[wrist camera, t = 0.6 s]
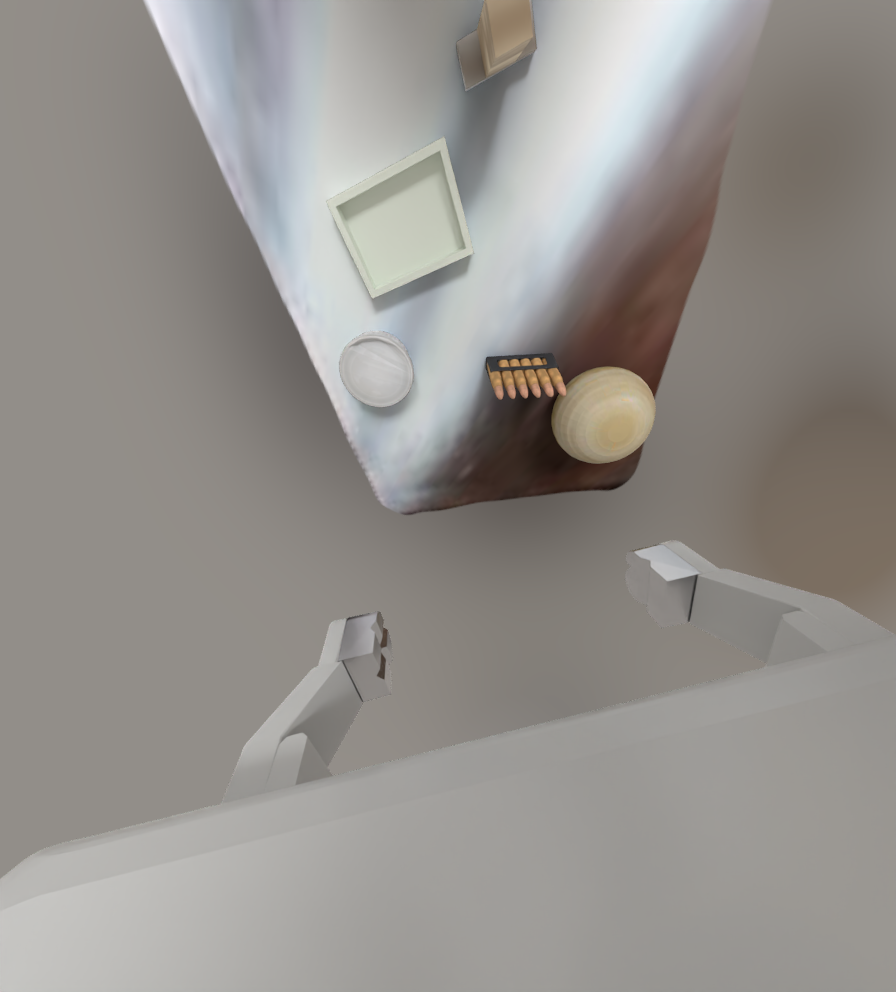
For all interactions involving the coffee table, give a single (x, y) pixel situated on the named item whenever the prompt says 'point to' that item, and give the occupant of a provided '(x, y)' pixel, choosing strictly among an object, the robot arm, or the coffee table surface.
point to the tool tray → (404, 220)
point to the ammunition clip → (524, 374)
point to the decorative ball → (603, 415)
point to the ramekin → (376, 369)
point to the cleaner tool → (497, 40)
